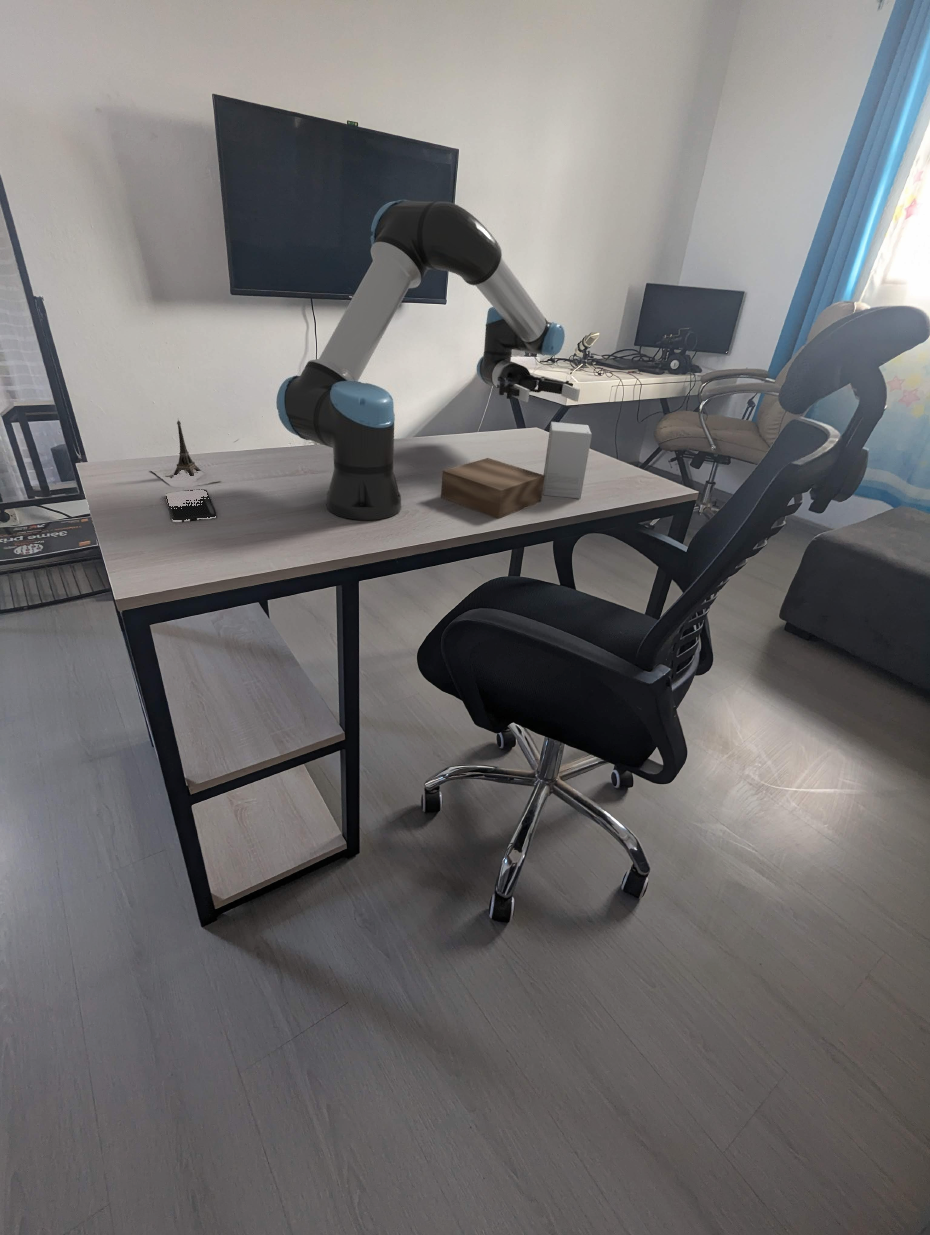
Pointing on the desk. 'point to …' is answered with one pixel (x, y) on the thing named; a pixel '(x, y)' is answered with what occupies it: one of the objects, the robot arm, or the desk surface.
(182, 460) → the eiffel tower figurine
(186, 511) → the phone
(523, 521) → the desk surface
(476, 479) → the walnut stand
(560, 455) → the supplement box
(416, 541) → the desk surface
